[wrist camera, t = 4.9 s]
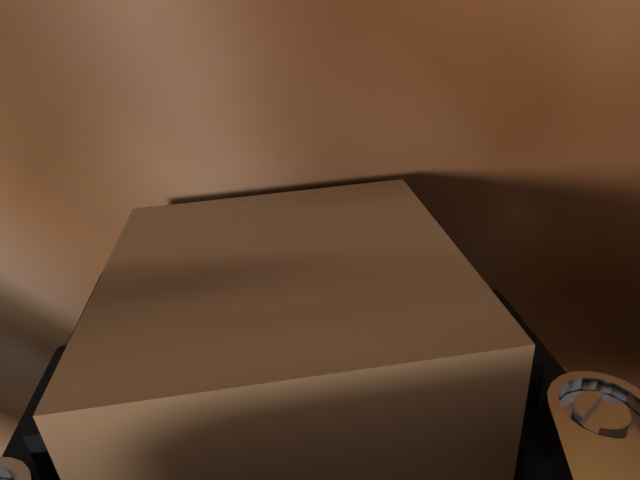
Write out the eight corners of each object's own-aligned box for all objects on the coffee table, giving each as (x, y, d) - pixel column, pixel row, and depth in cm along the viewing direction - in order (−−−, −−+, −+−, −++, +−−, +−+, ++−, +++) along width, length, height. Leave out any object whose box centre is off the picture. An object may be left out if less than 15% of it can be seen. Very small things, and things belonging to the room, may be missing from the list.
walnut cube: (401, 380, 12) (492, 613, 8) (184, 411, 12) (148, 678, 7) (402, 178, 10) (534, 344, 5) (133, 208, 9) (32, 416, 5)
